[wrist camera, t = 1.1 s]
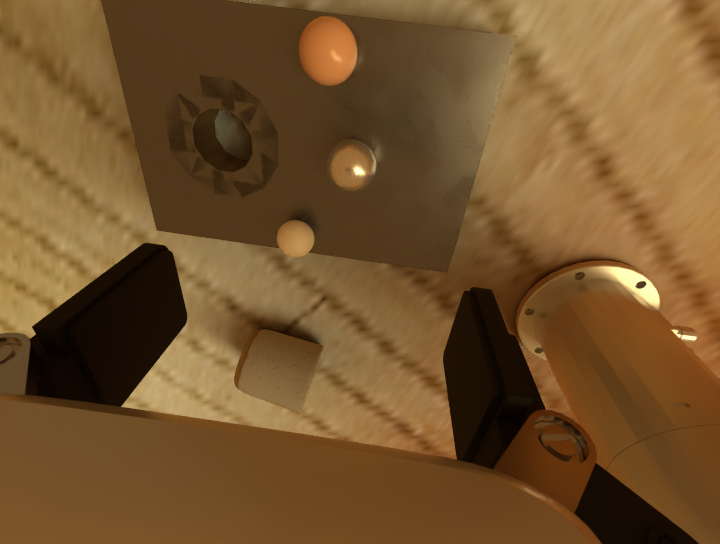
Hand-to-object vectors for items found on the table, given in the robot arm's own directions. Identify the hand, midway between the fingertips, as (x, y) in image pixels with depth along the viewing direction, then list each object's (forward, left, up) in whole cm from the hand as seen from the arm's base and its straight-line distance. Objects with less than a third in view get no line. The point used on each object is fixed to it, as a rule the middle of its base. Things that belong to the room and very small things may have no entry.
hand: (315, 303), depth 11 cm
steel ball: (+1, 0, -15) cm, 15 cm away
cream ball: (+5, +6, -16) cm, 18 cm away
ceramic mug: (+7, +25, -21) cm, 33 cm away
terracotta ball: (+3, -7, -15) cm, 17 cm away
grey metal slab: (+5, 0, -21) cm, 21 cm away
